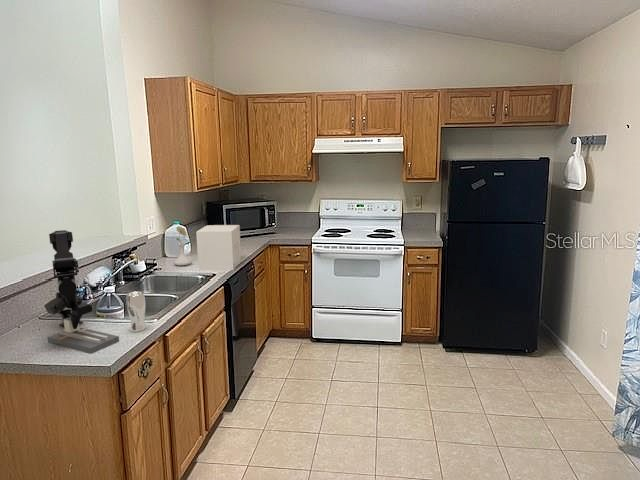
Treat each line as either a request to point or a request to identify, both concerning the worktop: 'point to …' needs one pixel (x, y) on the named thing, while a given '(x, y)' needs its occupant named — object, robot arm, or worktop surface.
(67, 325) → the fader knob
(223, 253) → the cube
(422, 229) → the worktop surface
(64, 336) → the fader console
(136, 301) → the beer glass
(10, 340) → the worktop surface
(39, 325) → the worktop surface
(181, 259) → the flower in vase
